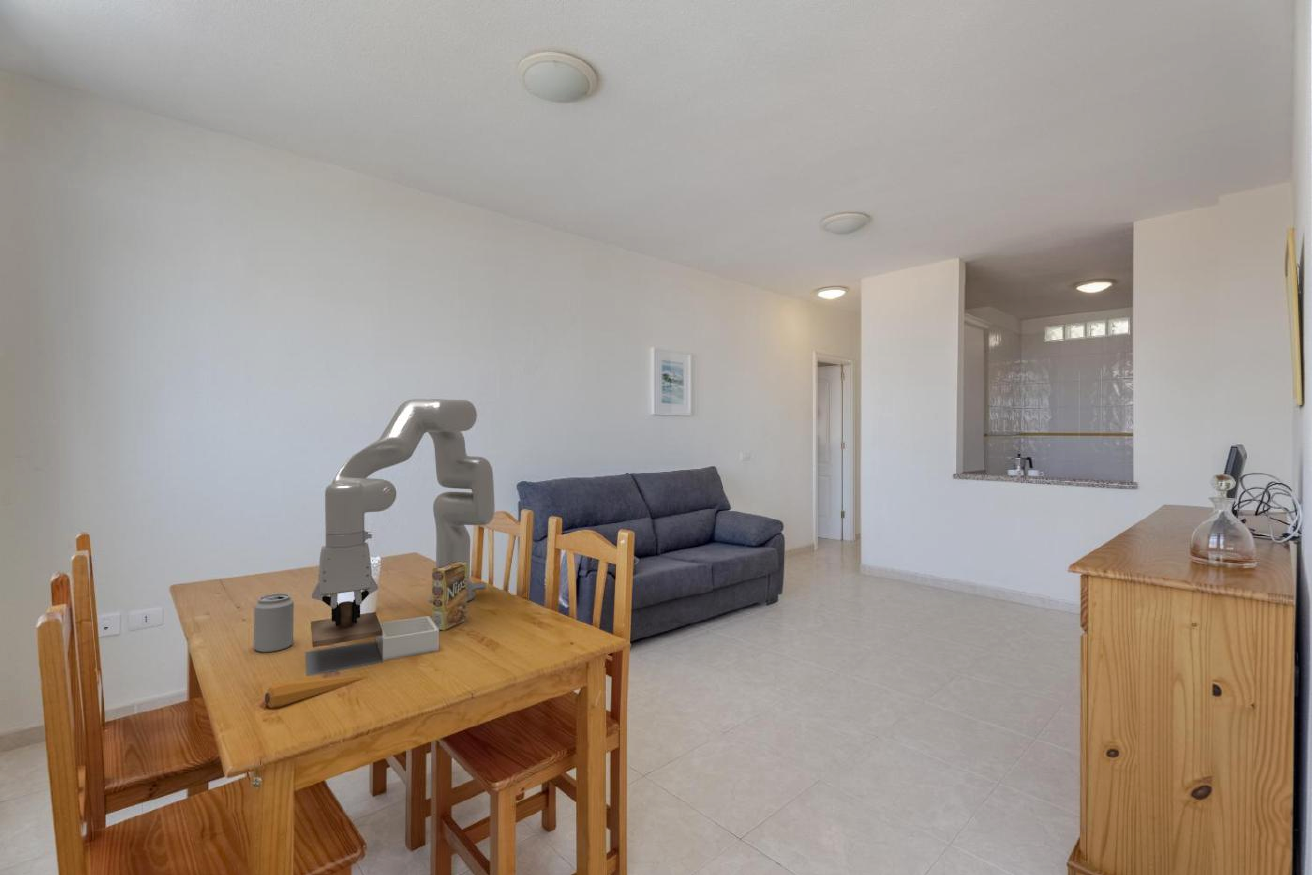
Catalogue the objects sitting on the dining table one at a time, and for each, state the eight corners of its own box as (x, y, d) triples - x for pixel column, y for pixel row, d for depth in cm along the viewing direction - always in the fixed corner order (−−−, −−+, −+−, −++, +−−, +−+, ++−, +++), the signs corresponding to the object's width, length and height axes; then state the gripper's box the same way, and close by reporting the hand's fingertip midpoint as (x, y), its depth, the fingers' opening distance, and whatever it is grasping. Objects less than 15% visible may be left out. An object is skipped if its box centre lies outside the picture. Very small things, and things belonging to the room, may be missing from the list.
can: (301, 645, 136) (301, 593, 136) (270, 656, 129) (270, 602, 129) (277, 640, 139) (277, 589, 138) (245, 651, 131) (246, 598, 131)
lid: (375, 616, 138) (375, 590, 138) (382, 635, 127) (382, 607, 127) (310, 626, 132) (310, 599, 131) (312, 647, 120) (312, 617, 120)
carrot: (266, 717, 105) (273, 696, 104) (260, 700, 107) (266, 679, 107) (378, 691, 120) (385, 673, 119) (370, 676, 123) (376, 658, 122)
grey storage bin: (428, 636, 144) (428, 615, 143) (438, 652, 134) (439, 630, 134) (376, 644, 137) (376, 623, 137) (382, 662, 128) (383, 639, 127)
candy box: (444, 631, 147) (445, 570, 147) (430, 629, 149) (431, 568, 148) (467, 620, 155) (468, 562, 155) (453, 618, 157) (454, 561, 157)
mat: (374, 643, 138) (374, 641, 138) (382, 664, 126) (382, 662, 126) (305, 653, 131) (305, 652, 131) (306, 677, 119) (306, 675, 119)
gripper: (383, 532, 136) (384, 611, 137) (301, 540, 127) (302, 623, 128) (388, 539, 130) (388, 621, 130) (302, 547, 121) (303, 635, 122)
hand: (346, 622), depth 129 cm, fingers closed on lid, 2 cm apart
